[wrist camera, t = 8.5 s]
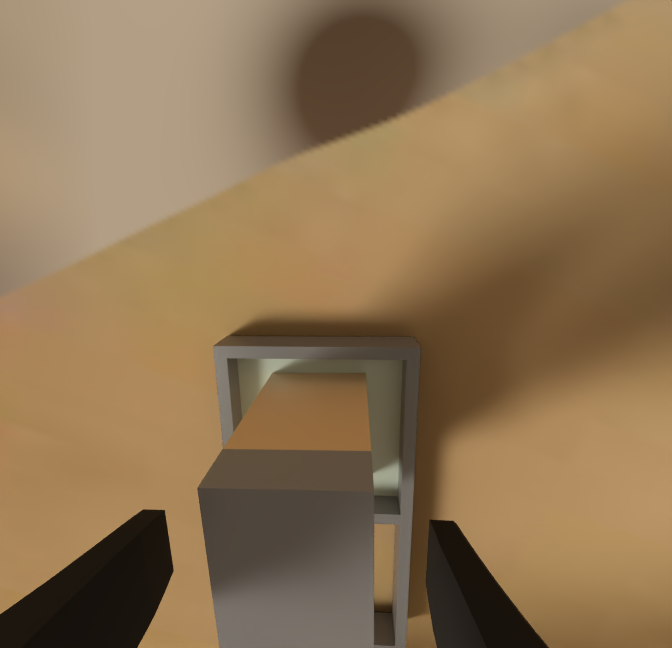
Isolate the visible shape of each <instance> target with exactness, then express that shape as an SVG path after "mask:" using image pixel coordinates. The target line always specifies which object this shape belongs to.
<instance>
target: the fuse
mask: <svg viewBox="0 0 672 648" xmlns="http://www.w3.org/2000/svg"><path fill="white" fill-rule="evenodd" d="M197 489H198V496H199V503H200V510H201V518H202V525H203V532H204V539H205V546H206V554H207V561H208V568H209V575H210V582H211V590H212V597H213V604H214V611H215V618H216V626H217V633H218V640H219V647H220V648H374V482H373V468H372V454H371V440H370V426H369V412H368V398H367V384H366V373H272V374H271V376H270V377H269V379H268V380H267V382H266V383H265V385H264V386H263V388H262V389H261V391H260V392H259V394H258V396H257V397H256V399H255V400H254V402H253V403H252V405H251V406H250V408H249V409H248V411H247V412H246V414H245V416H244V417H243V419H242V420H241V422H240V423H239V425H238V426H237V428H236V429H235V431H234V432H233V434H232V436H231V437H230V439H229V440H228V442H227V443H226V445H225V446H224V448H223V449H222V451H221V452H220V454H219V456H218V457H217V459H216V460H215V462H214V463H213V465H212V466H211V468H210V469H209V471H208V472H207V474H206V476H205V477H204V479H203V480H202V482H201V483H200V485H199V486H198V488H197Z"/></svg>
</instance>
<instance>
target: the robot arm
mask: <svg viewBox="0 0 672 648" xmlns="http://www.w3.org/2000/svg"><path fill="white" fill-rule="evenodd" d="M173 571H174V570H173V563H172V556H171V549H170V543H169V536H168V529H167V522H166V516H165V510H144V509H143V510H142V511H141V512H139V513H138V514H136V515H135V516H134V517H132V518H131V519H129V520H128V521H127V522H125V523H124V524H123V525H121V526H120V527H119V528H117V529H116V530H115V531H113V532H112V533H111V534H109V535H108V536H107V537H106V538H104V539H103V540H102V541H100V542H99V543H98V544H96V545H95V546H94V547H92V548H91V549H90V550H88V551H87V552H86V553H84V554H83V555H82V556H80V557H79V558H78V559H76V560H75V561H74V562H72V563H71V564H70V565H68V566H67V567H66V568H64V569H63V570H62V571H60V572H59V573H58V574H56V575H55V576H54V577H52V578H51V579H50V580H48V581H47V582H45V583H44V584H43V585H41V586H40V587H38V588H37V589H35V590H34V591H33V592H31V593H30V594H28V595H27V596H26V597H24V598H23V599H21V600H20V601H19V602H17V603H16V604H14V605H13V606H11V607H10V608H9V609H7V610H6V611H4V612H3V613H2V614H0V648H137V647H138V645H139V643H140V642H141V640H142V638H143V636H144V634H145V632H146V631H147V629H148V627H149V625H150V623H151V621H152V619H153V617H154V615H155V613H156V611H157V609H158V606H159V604H160V602H161V600H162V597H163V595H164V593H165V590H166V588H167V585H168V583H169V580H170V578H171V576H172V573H173ZM426 587H427V594H428V600H429V607H430V613H431V619H432V625H433V632H434V636H435V640H436V644H437V648H549V647H548V646H547V645H546V644H545V643H544V641H543V640H542V639H541V638H540V636H539V635H538V634H537V633H536V632H535V630H534V629H533V628H532V627H531V625H530V624H529V623H528V622H527V620H526V619H525V618H524V617H523V615H522V614H521V613H520V612H519V610H518V609H517V608H516V606H515V605H514V604H513V602H512V601H511V600H510V598H509V597H508V596H507V595H506V593H505V592H504V591H503V589H502V588H501V587H500V585H499V584H498V583H497V581H496V580H495V579H494V577H493V576H492V574H491V573H490V572H489V570H488V569H487V568H486V566H485V565H484V563H483V562H482V561H481V559H480V558H479V556H478V555H477V553H476V552H475V551H474V549H473V548H472V546H471V545H470V543H469V542H468V540H467V539H466V537H465V536H464V534H463V533H462V531H461V530H460V528H459V527H458V525H457V524H456V523H455V522H454V521H444V520H430V523H429V539H428V555H427V571H426Z"/></svg>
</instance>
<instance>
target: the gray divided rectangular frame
mask: <svg viewBox="0 0 672 648" xmlns="http://www.w3.org/2000/svg"><path fill="white" fill-rule="evenodd" d="M213 349H214V359H215V369H216V380H217V390H218V400H219V410H220V420H221V430H222V440H223V448H224V446H225V445H226V443H227V442H228V440H229V439H230V437H231V436H232V434H233V432H234V431H235V429H236V428H237V426H238V425H239V423H240V422H241V420H242V419H243V417H244V416H245V414H246V412H247V411H248V409H249V408H250V406H251V405H252V403H253V402H254V400H255V399H256V397H257V396H258V394H259V392H260V391H261V389H262V388H263V386H264V385H265V383H266V382H267V380H268V379H269V377H270V376H271V374H272V373H366V384H367V398H368V412H369V426H370V440H371V454H372V468H373V482H374V524H395V546H394V573H393V600H392V613H383V612H374V648H406V632H407V612H408V593H409V573H410V553H411V533H412V513H413V494H414V474H415V454H416V434H417V415H418V395H419V375H420V355H421V347H420V345H419V344H418V342H417V341H416V339H415V337H342V336H226V337H225V338H224V339H222V340H221V341H220V342H218V343H217V344H215V345H214V346H213Z"/></svg>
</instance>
